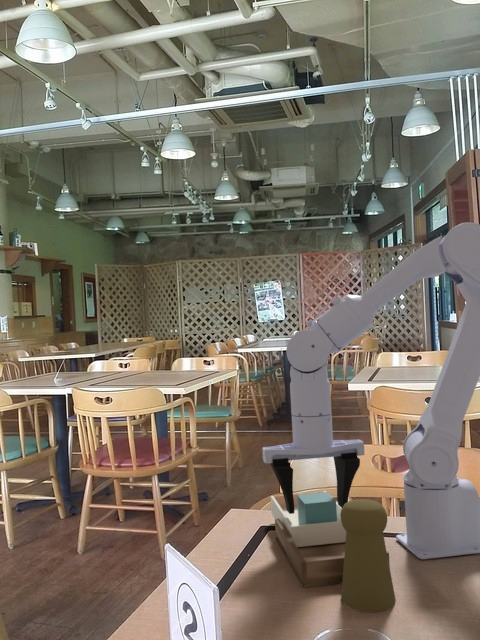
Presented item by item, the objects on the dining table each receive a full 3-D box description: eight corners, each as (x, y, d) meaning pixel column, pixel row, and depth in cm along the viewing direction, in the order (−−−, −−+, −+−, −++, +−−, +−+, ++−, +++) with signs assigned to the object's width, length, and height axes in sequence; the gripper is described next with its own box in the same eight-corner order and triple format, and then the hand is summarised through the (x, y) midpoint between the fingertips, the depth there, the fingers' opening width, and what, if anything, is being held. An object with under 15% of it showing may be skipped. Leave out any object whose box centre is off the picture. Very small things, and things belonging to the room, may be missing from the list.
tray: (326, 508, 94) (325, 490, 94) (357, 540, 79) (356, 520, 79) (271, 513, 92) (270, 496, 92) (292, 547, 78) (291, 527, 78)
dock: (347, 531, 86) (346, 511, 86) (390, 577, 70) (388, 552, 70) (275, 539, 85) (274, 518, 85) (302, 587, 68) (301, 562, 69)
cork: (397, 613, 61) (391, 510, 62) (340, 610, 63) (334, 510, 63) (394, 587, 67) (388, 494, 67) (341, 585, 68) (336, 493, 69)
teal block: (337, 533, 80) (336, 500, 80) (306, 536, 79) (304, 503, 79) (328, 522, 84) (326, 491, 84) (298, 525, 84) (297, 494, 84)
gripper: (351, 406, 87) (355, 496, 87) (257, 413, 85) (261, 505, 85) (367, 413, 80) (372, 510, 80) (265, 420, 78) (270, 520, 78)
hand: (316, 508), depth 82 cm, fingers open, 7 cm apart
